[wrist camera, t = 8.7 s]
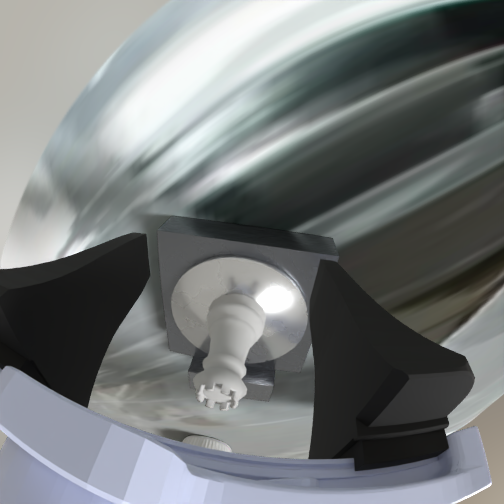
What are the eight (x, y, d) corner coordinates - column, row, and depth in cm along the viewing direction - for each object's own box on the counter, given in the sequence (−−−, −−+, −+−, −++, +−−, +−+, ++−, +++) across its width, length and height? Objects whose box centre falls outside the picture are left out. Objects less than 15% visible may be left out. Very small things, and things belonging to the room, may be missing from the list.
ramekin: (228, 456, 47) (224, 476, 42) (178, 442, 46) (172, 462, 41) (242, 442, 41) (238, 466, 37) (183, 426, 41) (176, 450, 36)
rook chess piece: (264, 289, 19) (252, 381, 12) (268, 333, 22) (258, 419, 14) (204, 289, 20) (169, 373, 13) (214, 332, 22) (190, 413, 15)
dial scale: (293, 369, 29) (292, 406, 24) (181, 351, 29) (167, 384, 25) (332, 238, 21) (344, 271, 17) (172, 215, 22) (145, 242, 17)
